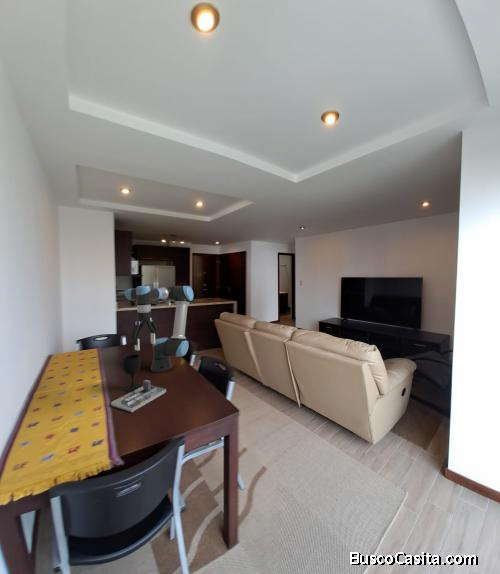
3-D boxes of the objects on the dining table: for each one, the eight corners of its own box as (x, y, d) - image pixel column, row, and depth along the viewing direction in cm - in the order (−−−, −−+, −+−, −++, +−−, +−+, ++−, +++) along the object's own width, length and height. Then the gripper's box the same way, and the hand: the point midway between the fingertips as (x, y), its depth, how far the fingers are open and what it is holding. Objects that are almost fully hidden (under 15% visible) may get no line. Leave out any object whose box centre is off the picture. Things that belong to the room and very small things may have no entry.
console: (147, 387, 153) (146, 382, 153) (166, 392, 146) (165, 387, 146) (111, 405, 131) (111, 400, 131) (131, 412, 124) (131, 406, 124)
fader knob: (146, 389, 145) (146, 379, 145) (151, 390, 143) (150, 380, 143) (143, 391, 143) (142, 381, 142) (147, 392, 141) (147, 382, 141)
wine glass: (121, 392, 146) (120, 360, 145) (125, 385, 156) (124, 355, 155) (140, 390, 149) (139, 358, 148) (143, 383, 159) (142, 353, 158)
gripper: (152, 308, 157) (154, 340, 158) (122, 315, 133) (124, 352, 134) (162, 308, 154) (163, 341, 156) (133, 315, 131) (135, 353, 132)
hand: (145, 346), depth 145 cm, fingers open, 13 cm apart
